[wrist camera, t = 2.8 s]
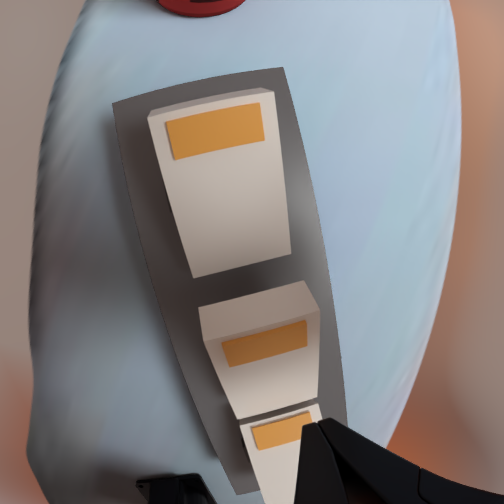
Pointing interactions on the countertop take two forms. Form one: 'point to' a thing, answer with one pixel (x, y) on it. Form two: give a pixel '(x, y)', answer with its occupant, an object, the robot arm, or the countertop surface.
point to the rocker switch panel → (233, 280)
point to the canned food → (200, 7)
